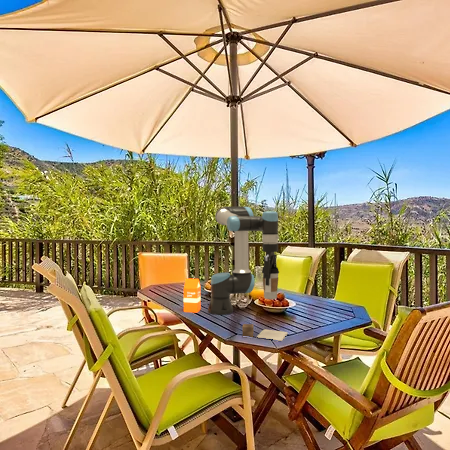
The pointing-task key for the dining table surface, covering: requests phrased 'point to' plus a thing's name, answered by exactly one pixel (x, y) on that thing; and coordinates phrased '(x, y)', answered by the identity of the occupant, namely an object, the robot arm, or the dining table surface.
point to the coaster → (272, 335)
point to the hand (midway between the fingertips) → (270, 290)
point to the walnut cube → (248, 330)
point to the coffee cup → (273, 284)
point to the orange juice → (192, 295)
